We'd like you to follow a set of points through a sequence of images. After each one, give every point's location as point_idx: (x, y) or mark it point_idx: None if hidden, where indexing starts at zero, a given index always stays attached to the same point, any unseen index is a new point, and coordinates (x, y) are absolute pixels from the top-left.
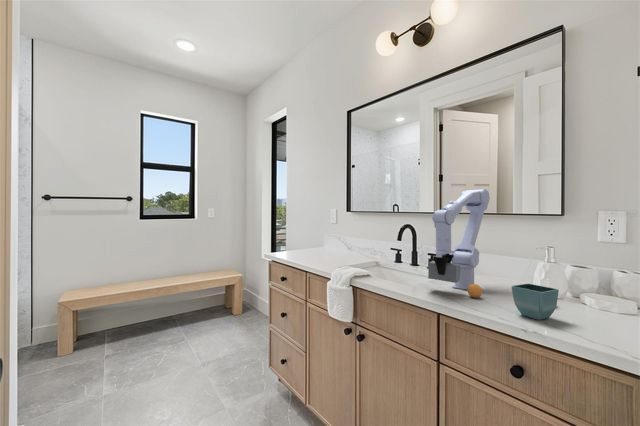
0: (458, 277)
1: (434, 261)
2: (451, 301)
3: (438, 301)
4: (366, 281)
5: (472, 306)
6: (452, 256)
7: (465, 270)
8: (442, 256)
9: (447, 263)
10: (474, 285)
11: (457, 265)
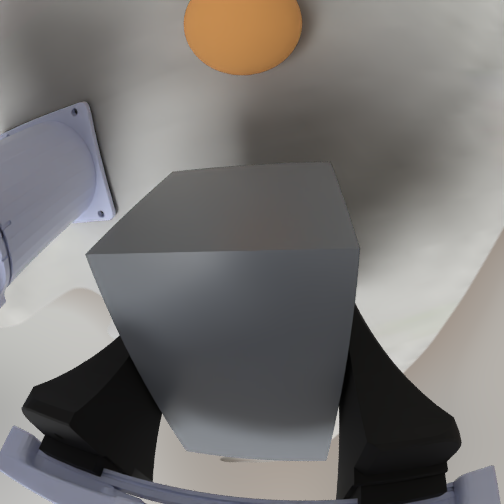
0: (214, 178)
1: (214, 447)
2: (457, 137)
3: (488, 198)
4: None
5: (480, 25)
6: (78, 413)
7: (5, 199)
8: (420, 488)
9: (210, 376)
10: (266, 10)
11: (261, 254)
